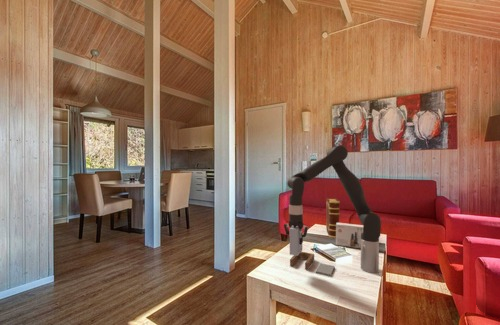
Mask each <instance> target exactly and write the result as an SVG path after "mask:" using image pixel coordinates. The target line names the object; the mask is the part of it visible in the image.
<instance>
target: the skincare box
mask: <svg viewBox="0 0 500 325" xmlns="http://www.w3.org/2000/svg"><path fill="white" fill-rule="evenodd" d="M361 233H363V224H354V223H353V224H352V223H344V222H339V223H336V238H335V245H336V246H343V247H350V248H356V249H357V248H358V249H361Z"/></svg>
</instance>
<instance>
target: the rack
mask: <svg viewBox="0 0 500 325" xmlns="http://www.w3.org/2000/svg"><path fill="white" fill-rule="evenodd" d="M299 259H301V260H305V262H304V270H306V271H308V270H309V269H310V267H311V266H312V264H313V263H314V261H315V253H311V252H305V251H303V250H302V251H301V253H300V254H299V255H298V256H296V255H292V257H290V259H289V266H290V267H291V268H292V267H294V265H295V264H296V263H297V261H298V260H299Z"/></svg>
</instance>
